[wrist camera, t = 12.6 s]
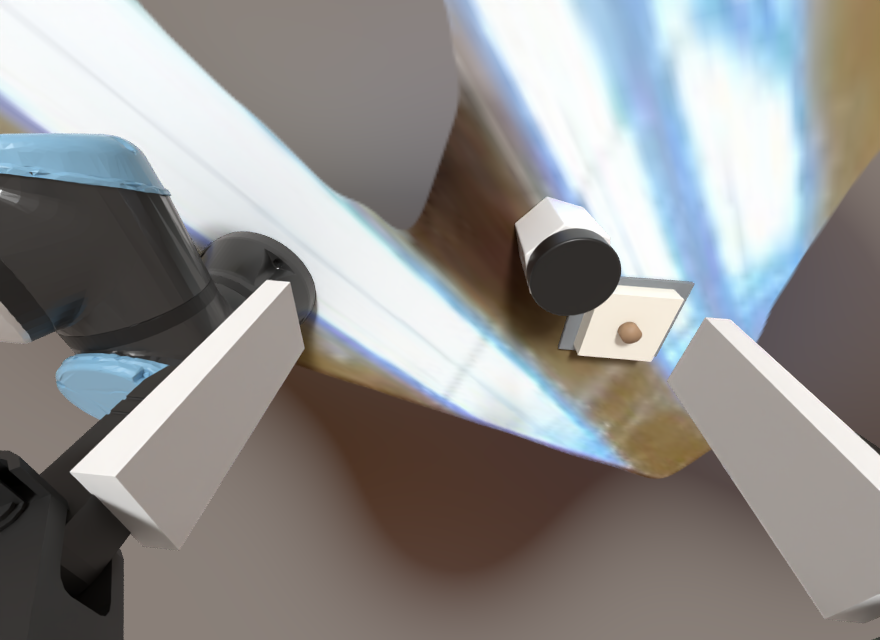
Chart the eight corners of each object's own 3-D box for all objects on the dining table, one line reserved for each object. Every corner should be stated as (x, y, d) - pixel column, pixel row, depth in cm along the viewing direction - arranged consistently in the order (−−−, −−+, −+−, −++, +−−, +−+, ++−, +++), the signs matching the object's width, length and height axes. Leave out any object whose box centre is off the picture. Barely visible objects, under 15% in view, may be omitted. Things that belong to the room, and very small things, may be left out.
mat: (558, 346, 51) (558, 348, 50) (580, 273, 44) (581, 275, 44) (654, 353, 50) (656, 356, 50) (692, 281, 44) (694, 284, 43)
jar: (539, 278, 45) (558, 333, 35) (499, 234, 42) (508, 281, 32) (602, 232, 41) (644, 280, 31) (562, 180, 38) (595, 215, 28)
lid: (573, 344, 50) (580, 362, 46) (594, 283, 44) (604, 299, 41) (643, 349, 49) (655, 368, 46) (674, 289, 44) (690, 306, 40)
